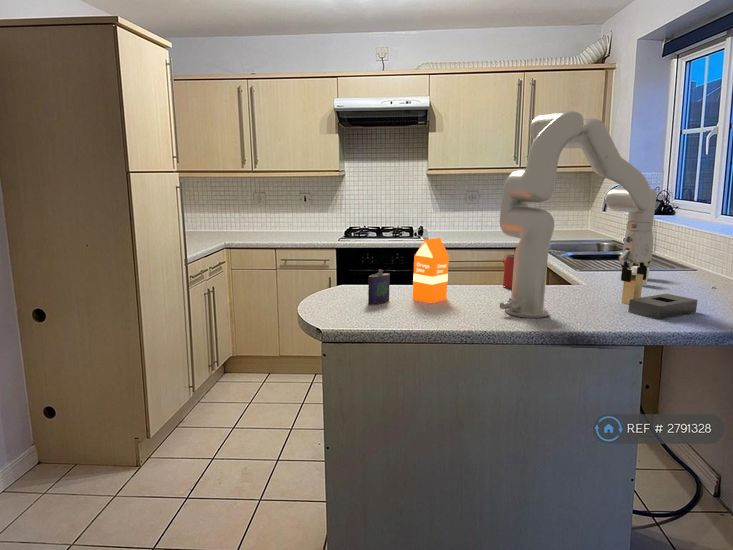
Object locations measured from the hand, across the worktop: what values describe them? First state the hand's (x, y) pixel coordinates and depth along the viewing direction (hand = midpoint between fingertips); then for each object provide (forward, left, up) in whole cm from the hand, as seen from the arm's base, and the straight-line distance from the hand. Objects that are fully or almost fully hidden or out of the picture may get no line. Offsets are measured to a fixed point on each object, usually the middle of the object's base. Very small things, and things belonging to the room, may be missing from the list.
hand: (633, 280), depth 181 cm
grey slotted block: (-2, -12, -8) cm, 15 cm away
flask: (-76, +37, -8) cm, 85 cm away
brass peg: (0, 0, -8) cm, 8 cm away
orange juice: (-58, +34, -8) cm, 68 cm away
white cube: (+34, +19, -8) cm, 40 cm away
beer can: (-18, +36, -8) cm, 41 cm away
